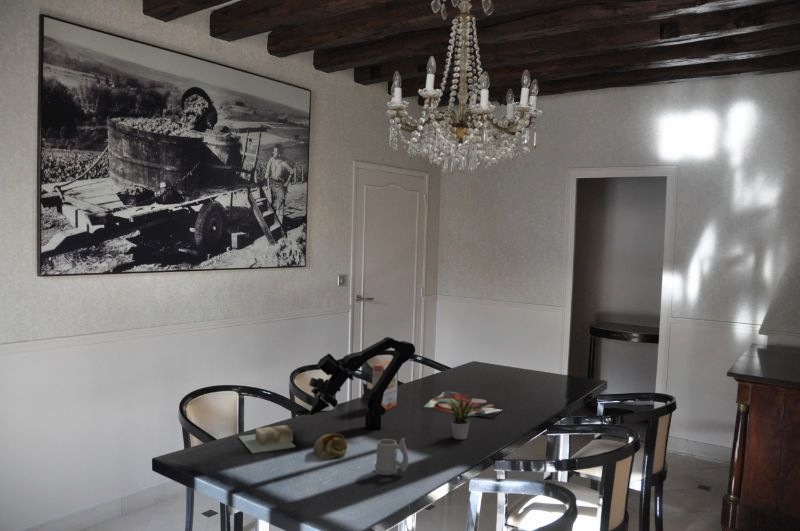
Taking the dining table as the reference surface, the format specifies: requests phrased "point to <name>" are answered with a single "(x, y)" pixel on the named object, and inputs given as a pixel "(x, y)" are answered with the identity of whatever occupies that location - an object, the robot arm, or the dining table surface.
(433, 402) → the multicolor patterned cloth
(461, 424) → the house plant
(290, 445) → the mat
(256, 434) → the tan rounded block
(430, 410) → the dining table surface
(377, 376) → the cracker box
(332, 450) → the pastry
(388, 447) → the mug
